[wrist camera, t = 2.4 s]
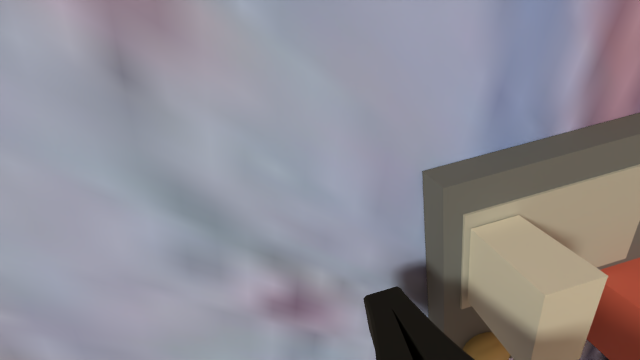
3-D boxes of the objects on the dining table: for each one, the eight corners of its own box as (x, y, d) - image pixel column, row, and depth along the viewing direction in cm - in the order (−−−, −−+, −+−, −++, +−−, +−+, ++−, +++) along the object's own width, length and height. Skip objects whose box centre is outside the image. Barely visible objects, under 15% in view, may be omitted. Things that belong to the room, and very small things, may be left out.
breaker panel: (613, 294, 18) (658, 327, 16) (430, 353, 17) (453, 395, 15) (684, 100, 13) (765, 112, 11) (422, 171, 12) (456, 199, 10)
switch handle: (508, 288, 13) (579, 358, 10) (467, 300, 13) (527, 376, 10) (518, 215, 11) (607, 275, 9) (471, 228, 11) (545, 295, 8)
